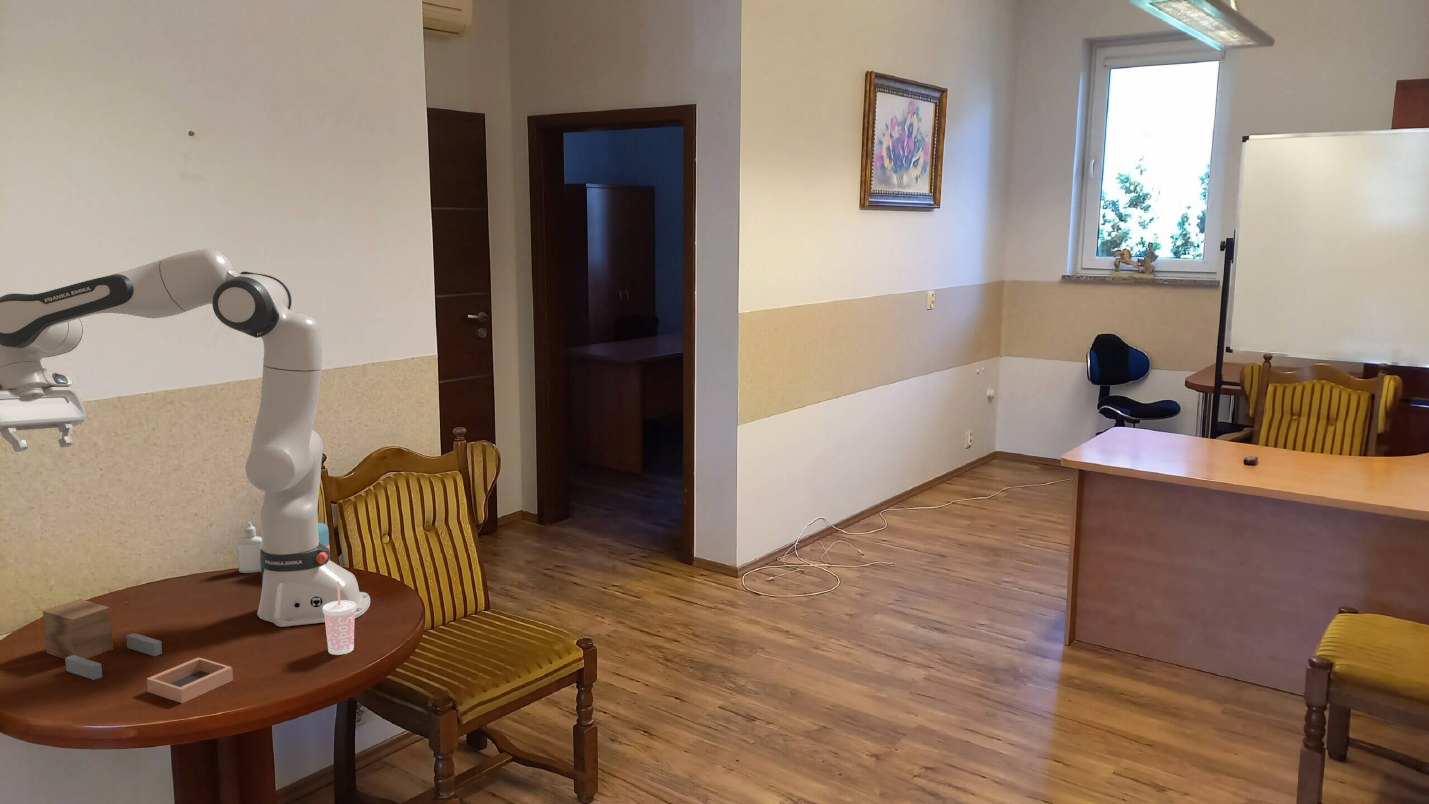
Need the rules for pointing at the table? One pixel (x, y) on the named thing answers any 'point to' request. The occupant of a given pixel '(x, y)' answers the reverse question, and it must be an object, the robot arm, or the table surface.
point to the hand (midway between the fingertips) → (45, 448)
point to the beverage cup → (339, 625)
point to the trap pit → (189, 680)
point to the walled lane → (95, 669)
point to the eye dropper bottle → (249, 551)
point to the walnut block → (78, 629)
